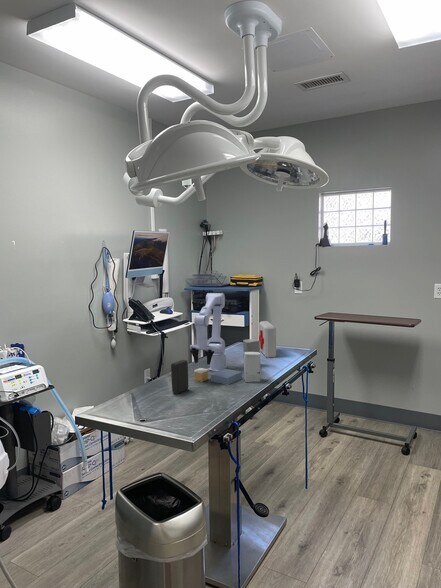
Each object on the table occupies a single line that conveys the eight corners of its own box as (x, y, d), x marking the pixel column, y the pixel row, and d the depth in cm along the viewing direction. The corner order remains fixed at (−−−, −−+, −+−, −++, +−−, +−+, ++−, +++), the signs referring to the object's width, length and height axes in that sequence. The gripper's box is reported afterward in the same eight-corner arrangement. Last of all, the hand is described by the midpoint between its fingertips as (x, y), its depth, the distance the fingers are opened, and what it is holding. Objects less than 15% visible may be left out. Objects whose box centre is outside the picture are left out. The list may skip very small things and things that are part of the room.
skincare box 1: (256, 363, 261) (255, 337, 259) (260, 366, 254) (260, 340, 252) (242, 365, 258) (242, 339, 256) (247, 368, 251) (246, 341, 250)
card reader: (183, 388, 220) (182, 359, 218) (189, 389, 218) (188, 360, 216) (171, 393, 213) (170, 363, 211) (177, 394, 210) (176, 364, 209)
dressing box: (225, 375, 240) (225, 368, 240) (241, 379, 234) (241, 371, 233) (210, 382, 230) (210, 374, 229) (227, 385, 223) (227, 378, 223)
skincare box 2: (245, 382, 226) (244, 354, 225) (244, 378, 232) (243, 351, 231) (261, 381, 226) (260, 353, 225) (259, 378, 232) (259, 351, 231)
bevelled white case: (257, 350, 293) (257, 321, 291) (269, 349, 294) (268, 320, 292) (264, 358, 273) (263, 327, 270) (276, 357, 273) (276, 326, 271)
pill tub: (200, 377, 236) (200, 367, 236) (208, 379, 233) (207, 369, 233) (194, 380, 232) (194, 370, 232) (202, 382, 229) (201, 371, 229)
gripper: (186, 338, 228) (186, 363, 229) (210, 340, 221) (210, 366, 222) (193, 335, 234) (194, 360, 236) (216, 337, 227) (217, 363, 228)
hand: (202, 363), depth 229 cm, fingers open, 7 cm apart
